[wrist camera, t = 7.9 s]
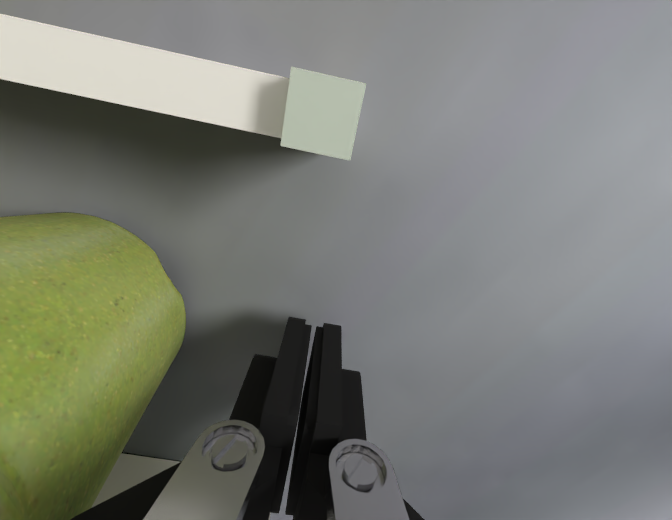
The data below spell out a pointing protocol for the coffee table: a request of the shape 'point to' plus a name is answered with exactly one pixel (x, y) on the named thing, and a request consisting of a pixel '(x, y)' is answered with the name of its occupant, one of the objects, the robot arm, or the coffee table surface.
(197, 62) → the corral
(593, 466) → the coffee table surface
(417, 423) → the coffee table surface
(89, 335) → the plant pot
